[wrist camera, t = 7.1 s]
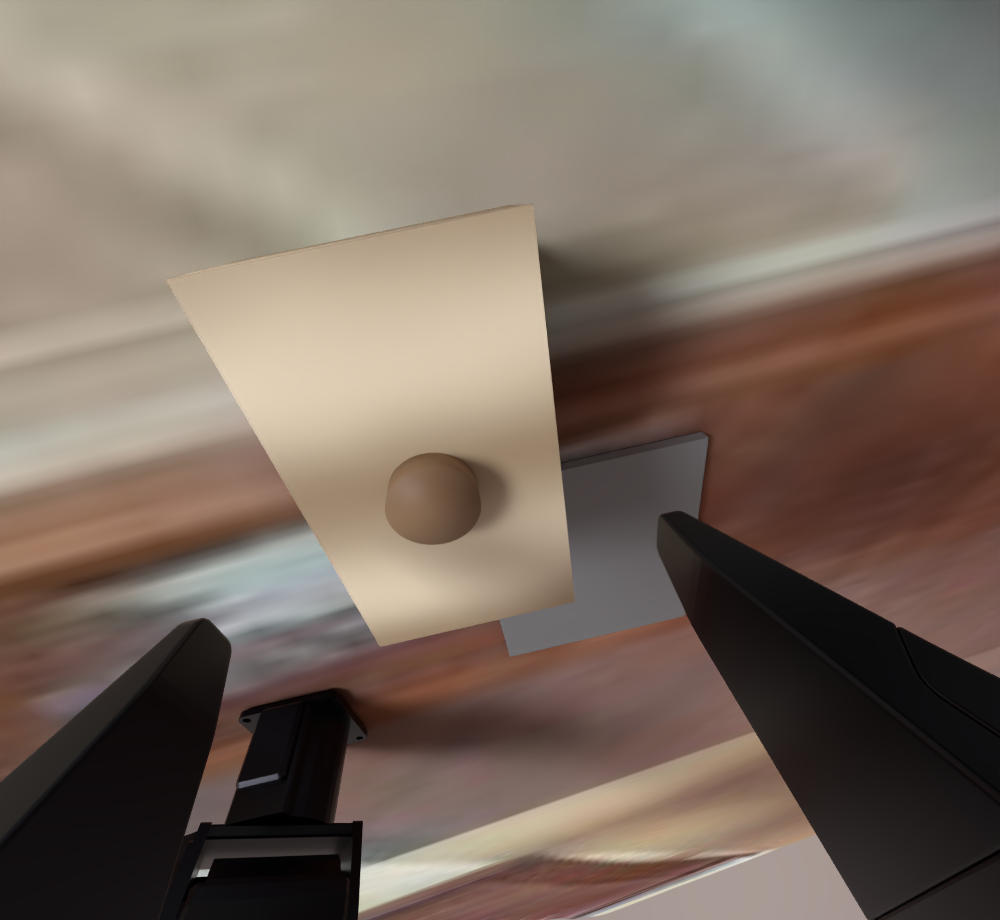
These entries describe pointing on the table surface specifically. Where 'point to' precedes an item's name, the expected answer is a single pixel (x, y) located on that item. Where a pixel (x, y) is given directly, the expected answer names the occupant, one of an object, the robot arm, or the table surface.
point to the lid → (406, 412)
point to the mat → (617, 542)
